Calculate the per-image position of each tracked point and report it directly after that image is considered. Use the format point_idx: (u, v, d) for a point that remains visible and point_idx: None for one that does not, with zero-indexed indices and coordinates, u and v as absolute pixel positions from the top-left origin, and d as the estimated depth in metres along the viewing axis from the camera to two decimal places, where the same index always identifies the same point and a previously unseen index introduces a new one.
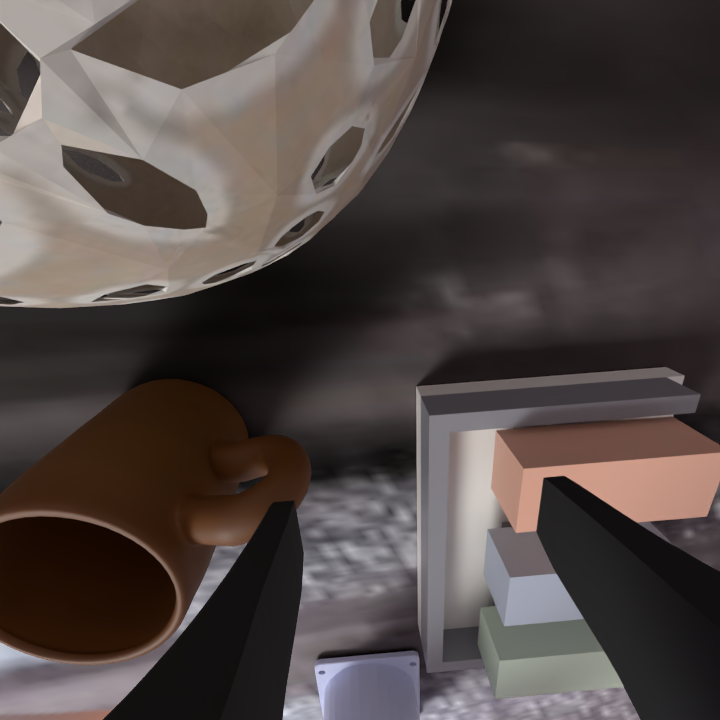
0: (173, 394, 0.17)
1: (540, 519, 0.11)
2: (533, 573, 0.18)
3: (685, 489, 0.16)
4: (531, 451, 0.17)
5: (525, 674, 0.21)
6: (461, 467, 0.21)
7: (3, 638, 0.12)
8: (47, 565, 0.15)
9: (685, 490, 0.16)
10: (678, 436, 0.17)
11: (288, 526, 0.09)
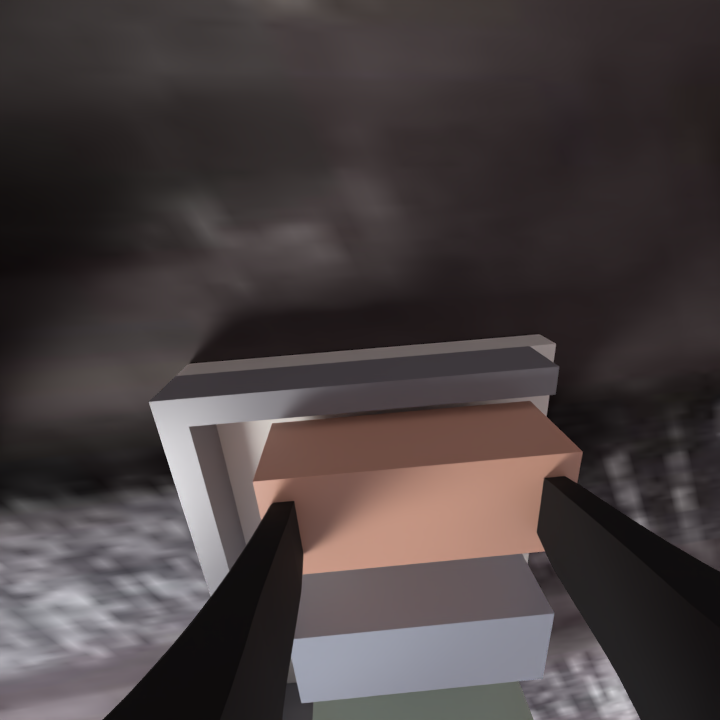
0: None
1: (540, 518, 0.11)
2: (324, 632, 0.12)
3: (523, 510, 0.11)
4: (290, 453, 0.11)
5: None
6: None
7: None
8: None
9: (523, 511, 0.11)
10: (519, 429, 0.11)
11: (288, 526, 0.09)
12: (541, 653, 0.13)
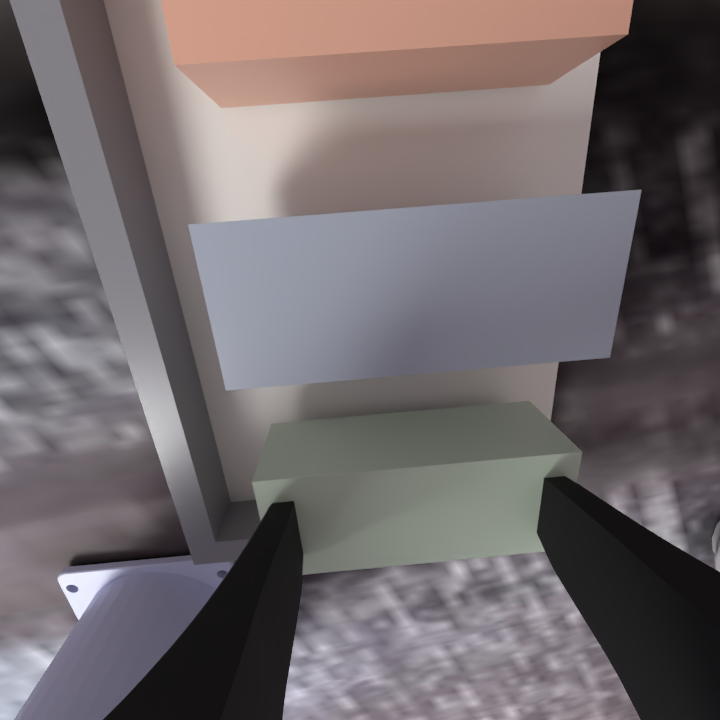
0: None
1: (540, 518, 0.11)
2: (253, 221, 0.07)
3: None
4: None
5: (316, 518, 0.10)
6: (178, 97, 0.10)
7: None
8: None
9: None
10: None
11: (288, 526, 0.09)
12: (612, 293, 0.08)
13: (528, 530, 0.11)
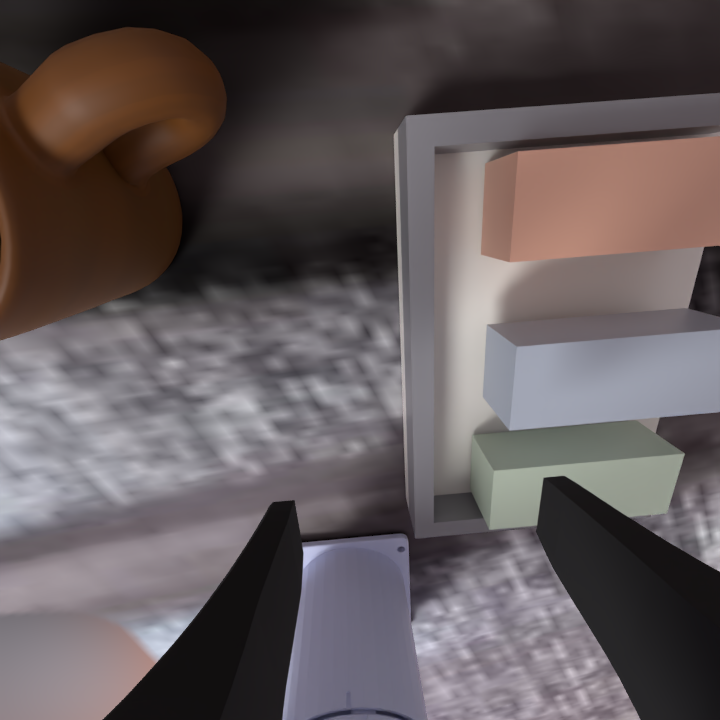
0: None
1: (540, 519, 0.11)
2: (547, 343, 0.14)
3: None
4: None
5: (524, 492, 0.18)
6: (453, 247, 0.16)
7: None
8: None
9: None
10: None
11: (288, 526, 0.09)
12: None
13: (646, 501, 0.18)
